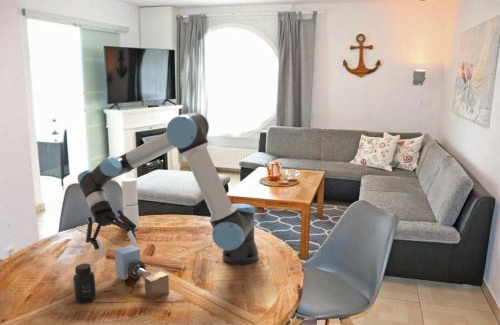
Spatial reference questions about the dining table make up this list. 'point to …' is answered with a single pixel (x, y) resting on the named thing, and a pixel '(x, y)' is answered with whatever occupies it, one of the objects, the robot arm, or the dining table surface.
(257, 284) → the dining table surface
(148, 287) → the pipe rig
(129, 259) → the sleeve
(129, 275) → the ring
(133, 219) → the cylindrical container
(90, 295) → the supplement bottle
